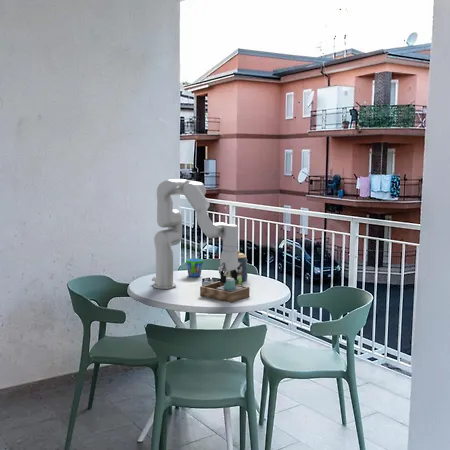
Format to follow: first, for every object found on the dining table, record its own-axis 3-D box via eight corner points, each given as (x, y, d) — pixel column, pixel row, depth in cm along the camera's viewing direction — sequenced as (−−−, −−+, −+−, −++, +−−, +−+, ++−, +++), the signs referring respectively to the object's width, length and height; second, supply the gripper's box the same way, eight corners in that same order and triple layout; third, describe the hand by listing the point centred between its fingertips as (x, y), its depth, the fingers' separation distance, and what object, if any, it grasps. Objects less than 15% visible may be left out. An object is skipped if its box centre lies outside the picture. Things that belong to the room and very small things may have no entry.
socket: (215, 295, 263) (216, 288, 263) (227, 291, 271) (227, 284, 271) (231, 299, 257) (231, 291, 257) (242, 295, 265) (243, 287, 265)
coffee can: (244, 286, 288) (244, 261, 287) (238, 290, 279) (238, 265, 277) (227, 284, 292) (227, 260, 290) (220, 288, 282) (221, 263, 281)
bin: (200, 296, 266) (200, 286, 265) (218, 290, 278) (218, 281, 278) (231, 302, 254) (231, 293, 253) (249, 296, 267) (249, 287, 266)
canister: (231, 276, 314) (231, 247, 312) (250, 278, 309) (251, 249, 307) (222, 280, 302) (222, 250, 300) (242, 282, 297) (242, 252, 295)
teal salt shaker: (224, 295, 264) (224, 278, 263) (228, 294, 267) (229, 277, 266) (230, 296, 262) (230, 279, 260) (234, 295, 265) (235, 278, 264)
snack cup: (189, 273, 321) (189, 256, 319) (205, 273, 319) (205, 257, 317) (182, 278, 305) (182, 261, 304) (199, 279, 303) (200, 262, 302)
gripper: (233, 245, 271) (232, 277, 273) (213, 249, 257) (212, 282, 259) (245, 247, 266) (244, 279, 268) (225, 251, 252) (224, 285, 255)
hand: (228, 281), depth 264 cm, fingers open, 9 cm apart
